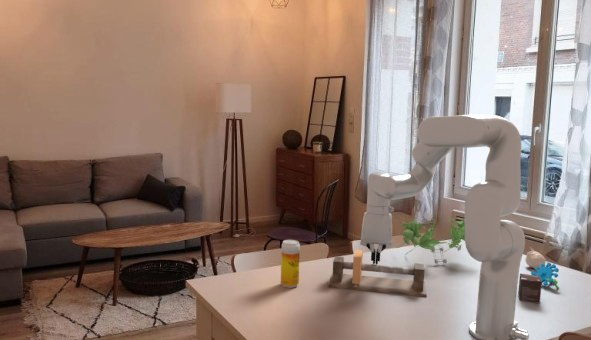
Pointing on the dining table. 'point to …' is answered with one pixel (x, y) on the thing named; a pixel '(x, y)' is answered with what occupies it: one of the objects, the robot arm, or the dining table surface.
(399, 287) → the pipe stand
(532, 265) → the garlic bulb
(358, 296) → the dining table surface
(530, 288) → the box
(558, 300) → the dining table surface
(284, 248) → the beer can
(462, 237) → the plant cuttings
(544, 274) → the blue lobed piece
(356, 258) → the collar
